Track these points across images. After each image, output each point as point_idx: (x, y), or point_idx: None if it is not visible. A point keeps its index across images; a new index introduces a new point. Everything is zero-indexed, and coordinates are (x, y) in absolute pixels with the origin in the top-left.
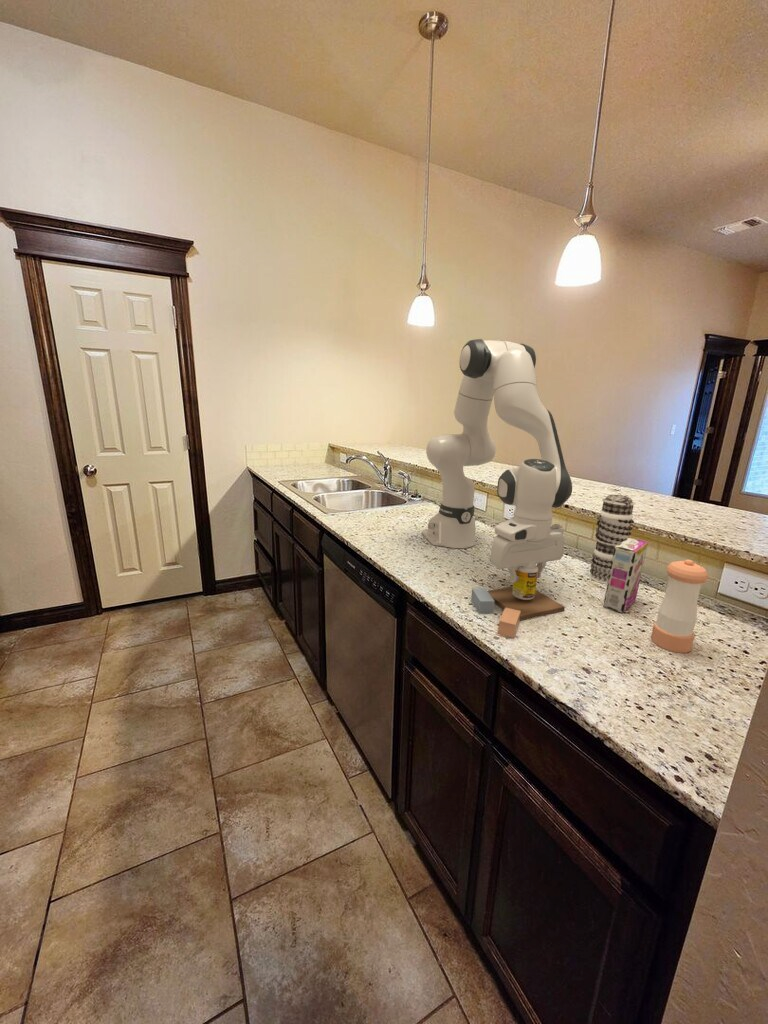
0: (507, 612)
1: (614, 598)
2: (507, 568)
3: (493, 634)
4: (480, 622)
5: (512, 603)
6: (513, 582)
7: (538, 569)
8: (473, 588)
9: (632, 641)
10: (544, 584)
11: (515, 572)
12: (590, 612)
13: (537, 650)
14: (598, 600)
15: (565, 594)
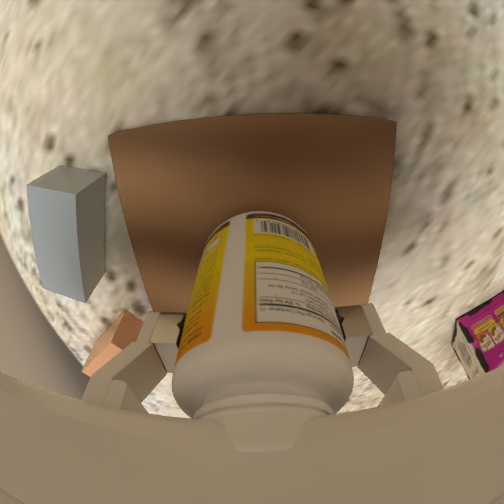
0: (109, 359)
1: (466, 357)
2: (97, 372)
3: (85, 340)
4: (63, 297)
5: (183, 272)
6: (196, 279)
7: (372, 363)
8: (30, 185)
9: (355, 406)
10: (473, 135)
11: (144, 397)
12: (408, 334)
13: (156, 393)
14: (483, 289)
15: (462, 233)
